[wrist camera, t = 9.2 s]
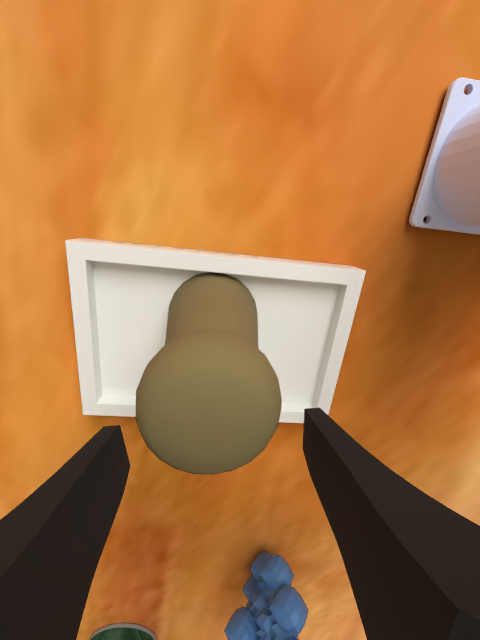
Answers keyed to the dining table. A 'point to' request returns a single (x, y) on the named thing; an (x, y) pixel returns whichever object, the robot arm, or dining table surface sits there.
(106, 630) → the canned tomato
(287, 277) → the white tray
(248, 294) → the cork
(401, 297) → the dining table surface
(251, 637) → the grapes
